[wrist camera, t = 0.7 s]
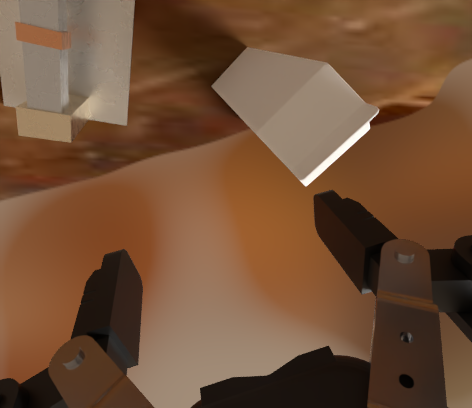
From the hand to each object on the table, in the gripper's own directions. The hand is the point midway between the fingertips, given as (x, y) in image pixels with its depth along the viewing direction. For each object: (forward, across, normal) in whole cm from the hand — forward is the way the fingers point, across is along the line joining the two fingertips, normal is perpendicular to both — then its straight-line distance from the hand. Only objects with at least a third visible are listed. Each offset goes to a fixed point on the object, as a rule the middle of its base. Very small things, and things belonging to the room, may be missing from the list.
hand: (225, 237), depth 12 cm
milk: (+27, -8, 0) cm, 28 cm away
